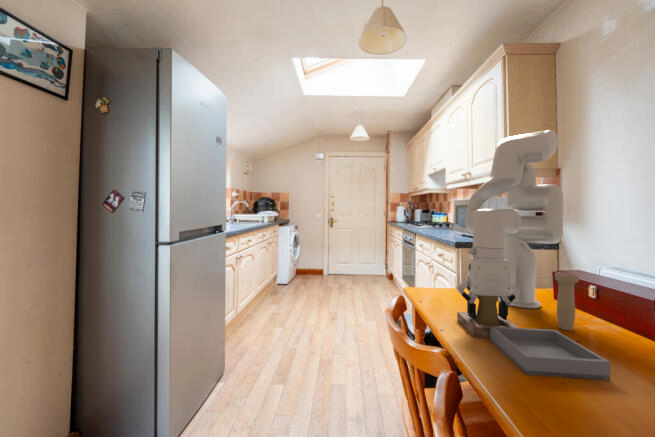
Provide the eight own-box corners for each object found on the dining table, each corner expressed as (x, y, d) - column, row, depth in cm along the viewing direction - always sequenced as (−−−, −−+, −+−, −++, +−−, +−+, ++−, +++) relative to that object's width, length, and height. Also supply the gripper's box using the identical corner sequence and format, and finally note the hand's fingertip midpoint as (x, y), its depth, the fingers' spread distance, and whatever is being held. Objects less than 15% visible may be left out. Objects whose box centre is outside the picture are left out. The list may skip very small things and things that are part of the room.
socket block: (457, 320, 83) (457, 311, 83) (499, 322, 82) (499, 313, 82) (473, 337, 72) (473, 327, 72) (522, 339, 70) (522, 329, 70)
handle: (558, 331, 76) (559, 276, 75) (551, 323, 81) (552, 272, 81) (581, 335, 73) (582, 278, 73) (572, 326, 79) (573, 274, 79)
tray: (490, 340, 70) (490, 326, 70) (555, 344, 68) (555, 329, 68) (525, 374, 55) (526, 356, 55) (610, 380, 53) (610, 362, 53)
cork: (503, 334, 73) (504, 293, 73) (478, 332, 75) (479, 291, 74) (494, 325, 79) (495, 287, 79) (471, 324, 80) (472, 286, 80)
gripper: (460, 254, 74) (459, 320, 74) (530, 256, 72) (529, 324, 72) (450, 251, 81) (450, 311, 82) (514, 252, 79) (513, 314, 80)
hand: (487, 316), depth 77 cm, fingers open, 7 cm apart
